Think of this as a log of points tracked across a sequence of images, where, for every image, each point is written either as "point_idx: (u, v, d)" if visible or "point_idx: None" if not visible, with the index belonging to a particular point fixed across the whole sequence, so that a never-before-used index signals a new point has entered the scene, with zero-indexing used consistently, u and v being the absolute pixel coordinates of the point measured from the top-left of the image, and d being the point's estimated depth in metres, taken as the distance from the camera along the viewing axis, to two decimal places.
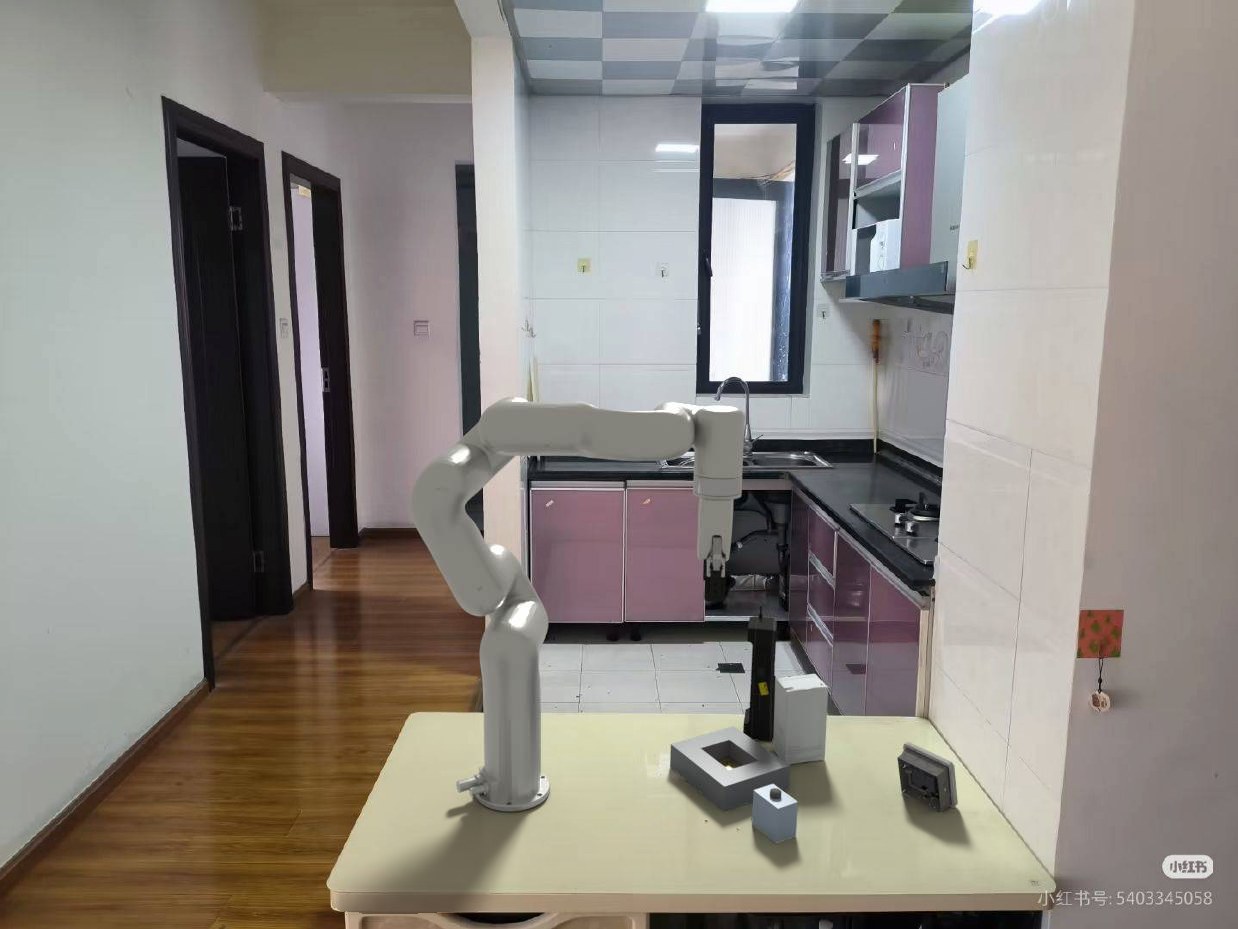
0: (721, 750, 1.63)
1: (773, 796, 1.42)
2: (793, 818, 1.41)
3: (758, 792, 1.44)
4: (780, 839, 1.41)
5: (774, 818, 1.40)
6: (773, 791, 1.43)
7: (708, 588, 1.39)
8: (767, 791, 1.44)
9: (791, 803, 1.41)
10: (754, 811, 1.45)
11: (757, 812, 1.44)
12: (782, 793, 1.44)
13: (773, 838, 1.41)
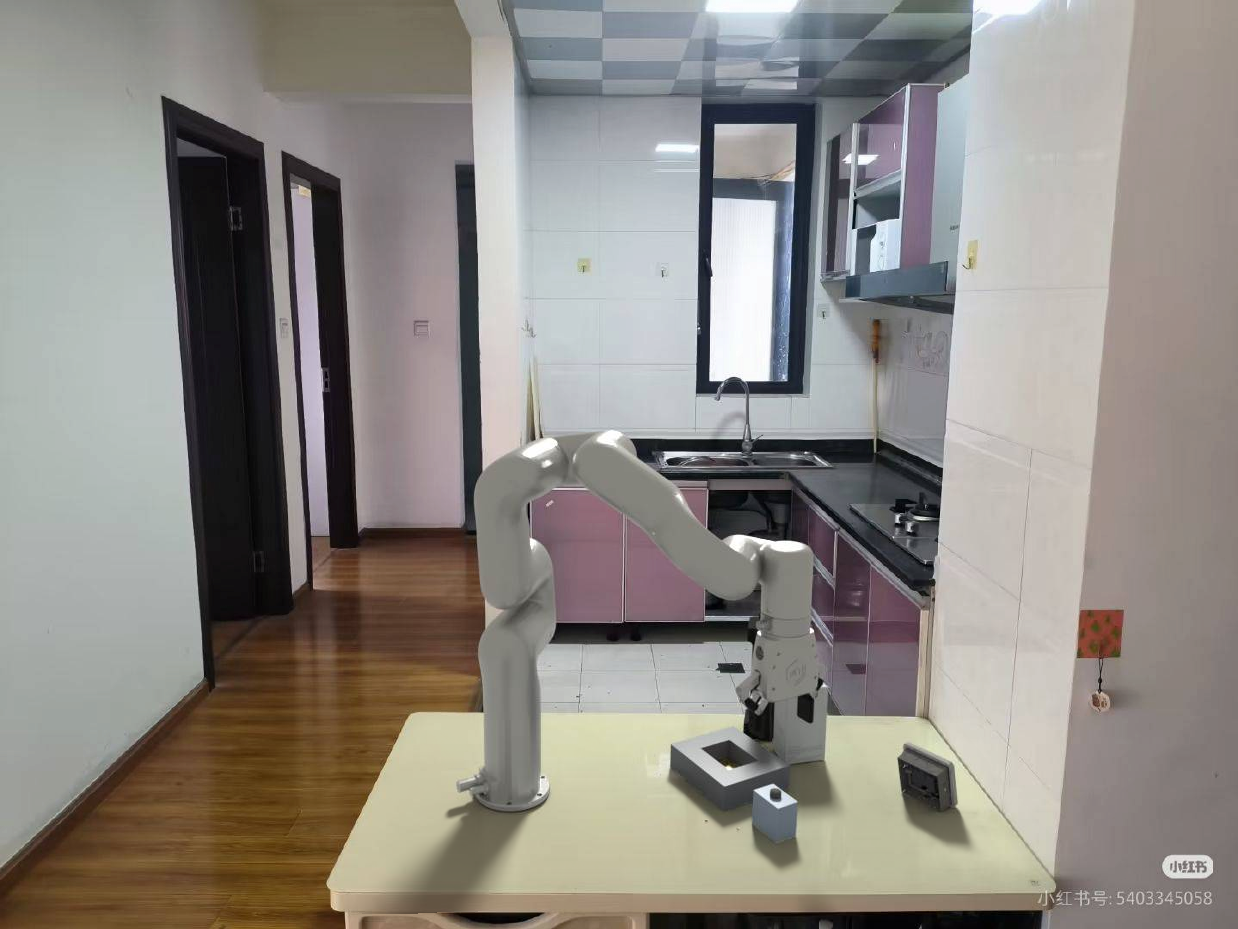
0: (721, 750, 1.63)
1: (773, 796, 1.42)
2: (793, 818, 1.41)
3: (758, 792, 1.44)
4: (780, 839, 1.41)
5: (774, 818, 1.40)
6: (773, 791, 1.43)
7: None
8: (767, 791, 1.44)
9: (791, 803, 1.41)
10: (754, 811, 1.45)
11: (757, 812, 1.44)
12: (782, 793, 1.43)
13: (773, 838, 1.41)
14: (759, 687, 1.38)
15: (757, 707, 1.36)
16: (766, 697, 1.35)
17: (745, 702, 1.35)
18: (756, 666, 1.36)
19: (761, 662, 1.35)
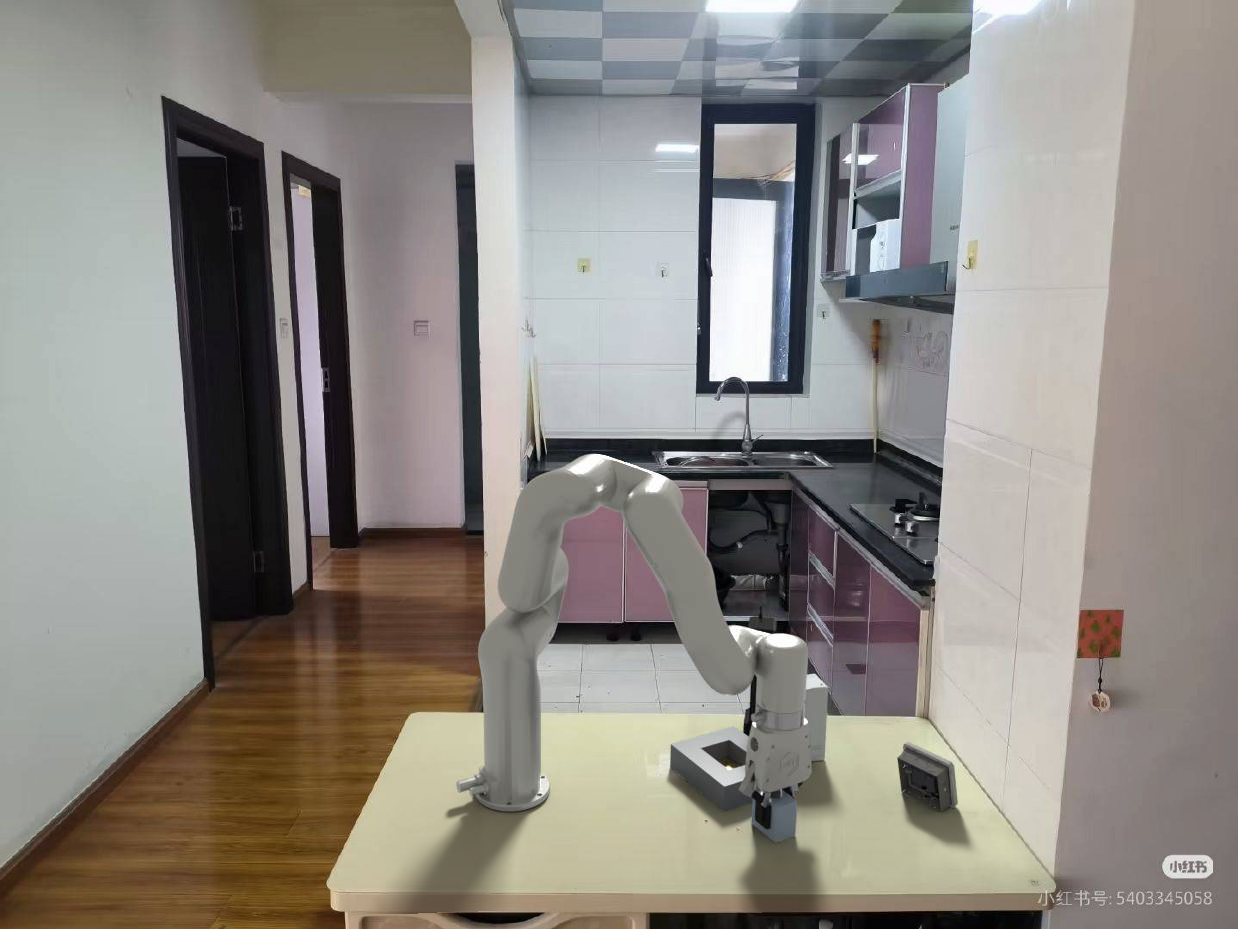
0: (721, 750, 1.63)
1: (772, 795, 1.42)
2: (792, 817, 1.41)
3: None
4: (779, 838, 1.41)
5: (774, 817, 1.40)
6: None
7: None
8: None
9: (790, 802, 1.41)
10: (753, 810, 1.45)
11: None
12: (781, 792, 1.44)
13: (772, 837, 1.41)
14: None
15: (762, 802, 1.40)
16: (760, 788, 1.38)
17: (752, 797, 1.40)
18: (750, 756, 1.39)
19: (755, 753, 1.38)
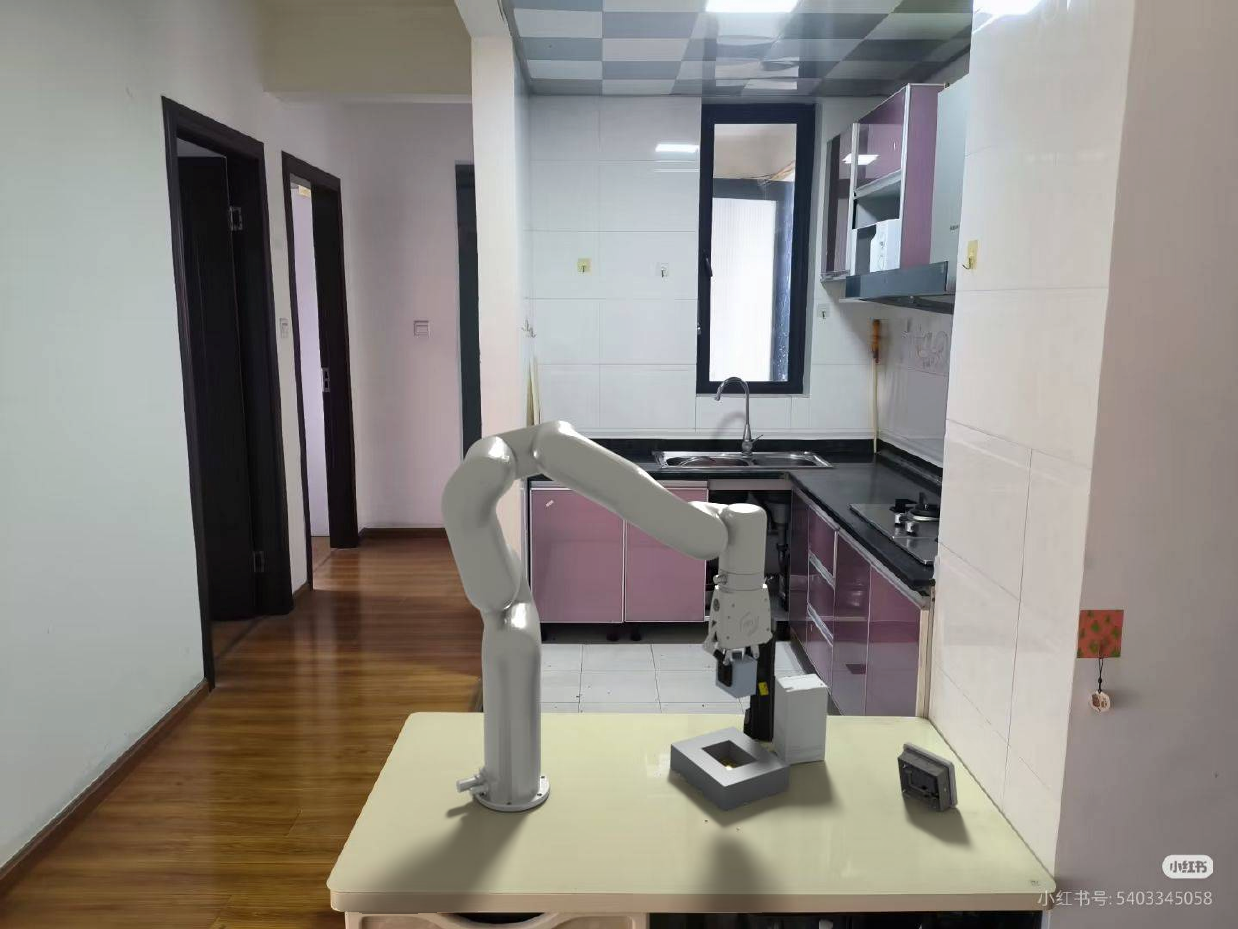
0: (721, 750, 1.63)
1: (734, 656, 1.52)
2: (753, 676, 1.52)
3: None
4: (740, 695, 1.51)
5: (735, 674, 1.50)
6: (734, 652, 1.53)
7: None
8: None
9: (751, 661, 1.51)
10: (717, 672, 1.55)
11: None
12: (743, 654, 1.54)
13: (733, 694, 1.51)
14: None
15: (724, 660, 1.50)
16: (721, 645, 1.48)
17: (714, 655, 1.50)
18: (713, 616, 1.50)
19: (717, 613, 1.48)
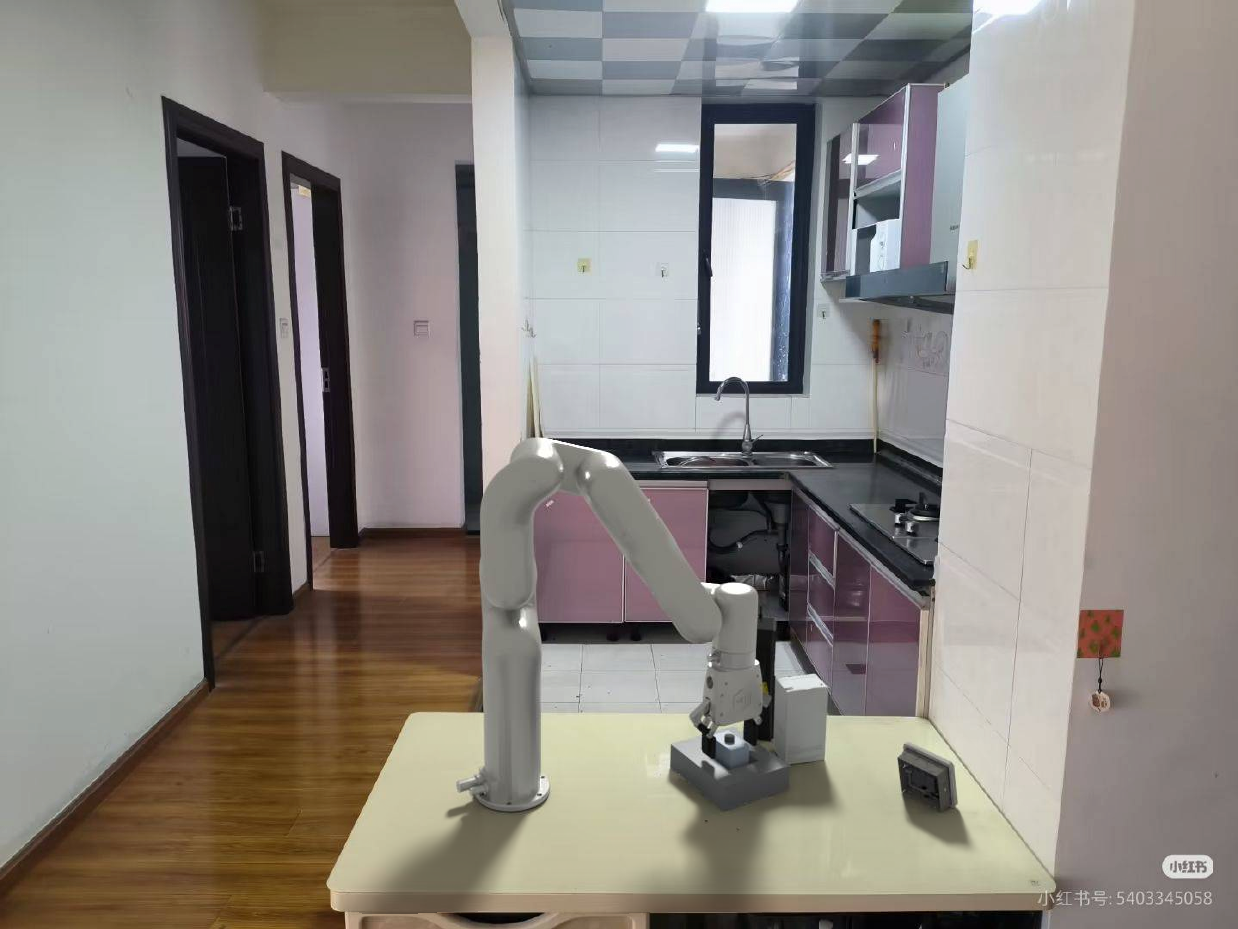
0: None
1: (727, 740, 1.57)
2: (745, 759, 1.56)
3: None
4: None
5: (728, 759, 1.55)
6: (727, 736, 1.57)
7: None
8: (722, 736, 1.59)
9: (743, 746, 1.56)
10: None
11: None
12: (735, 738, 1.58)
13: None
14: (710, 712, 1.55)
15: (708, 731, 1.53)
16: (715, 722, 1.52)
17: (698, 727, 1.53)
18: (707, 693, 1.54)
19: (711, 690, 1.52)
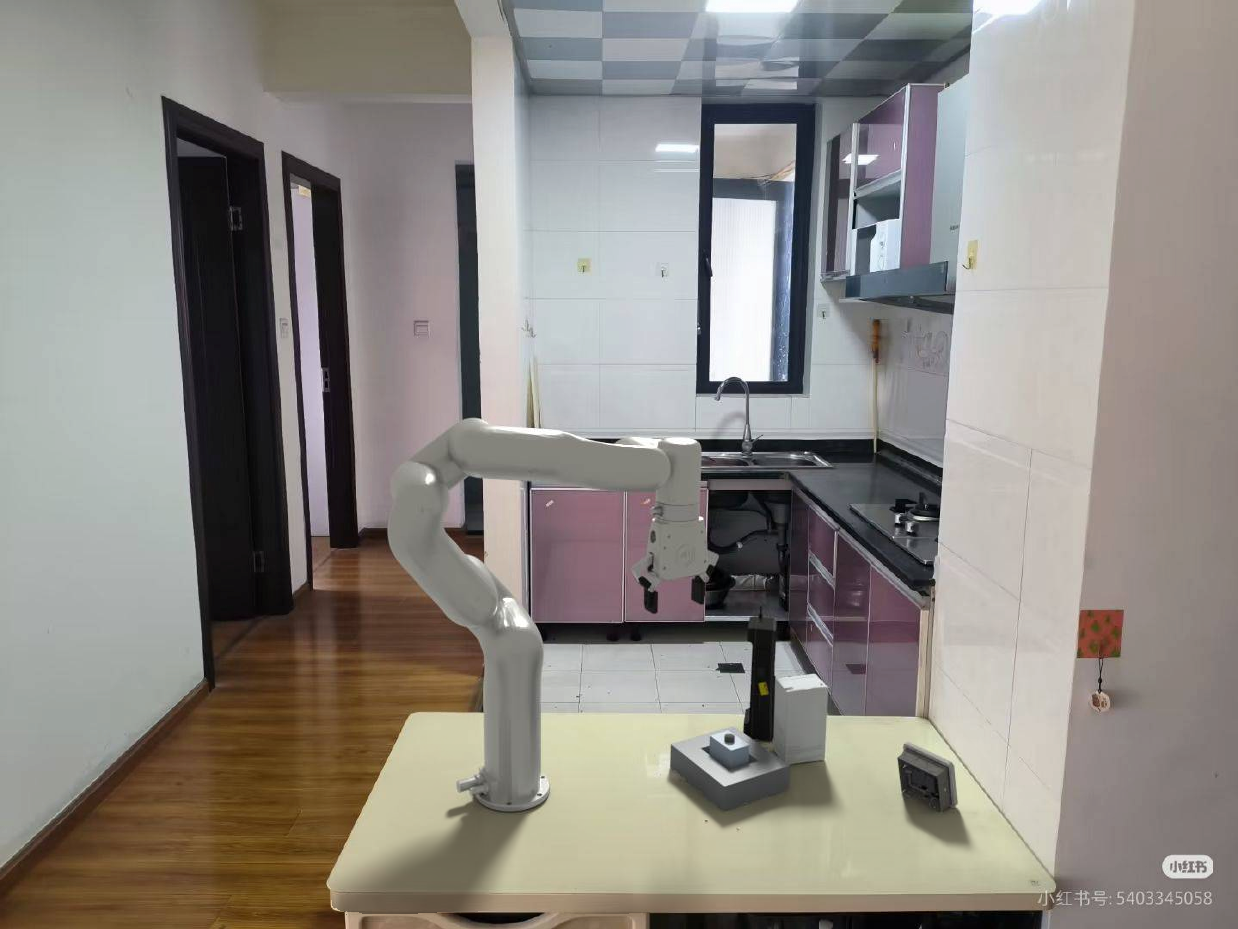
0: None
1: (727, 740, 1.57)
2: (745, 759, 1.56)
3: (714, 737, 1.59)
4: None
5: (728, 759, 1.55)
6: (727, 736, 1.57)
7: None
8: (722, 736, 1.59)
9: (743, 746, 1.56)
10: (710, 755, 1.59)
11: (713, 755, 1.59)
12: (735, 738, 1.58)
13: None
14: (654, 569, 1.54)
15: (650, 585, 1.52)
16: (658, 575, 1.51)
17: (639, 580, 1.51)
18: (650, 548, 1.52)
19: (654, 544, 1.51)
